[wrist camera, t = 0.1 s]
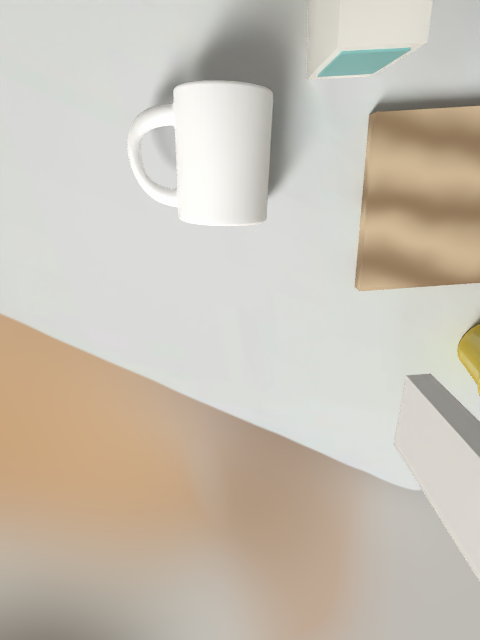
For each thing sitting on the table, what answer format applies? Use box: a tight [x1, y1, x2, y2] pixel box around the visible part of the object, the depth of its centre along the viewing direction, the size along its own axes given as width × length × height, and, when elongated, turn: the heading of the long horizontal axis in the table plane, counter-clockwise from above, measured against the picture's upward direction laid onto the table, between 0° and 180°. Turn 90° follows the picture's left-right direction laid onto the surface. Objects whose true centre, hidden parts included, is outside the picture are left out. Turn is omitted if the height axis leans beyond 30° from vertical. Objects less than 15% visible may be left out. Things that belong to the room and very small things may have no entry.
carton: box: [307, 0, 433, 80], centre depth 25 cm, size 6×6×9 cm
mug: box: [127, 80, 273, 226], centre depth 29 cm, size 12×10×8 cm
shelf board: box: [355, 106, 480, 291], centre depth 34 cm, size 17×18×4 cm
